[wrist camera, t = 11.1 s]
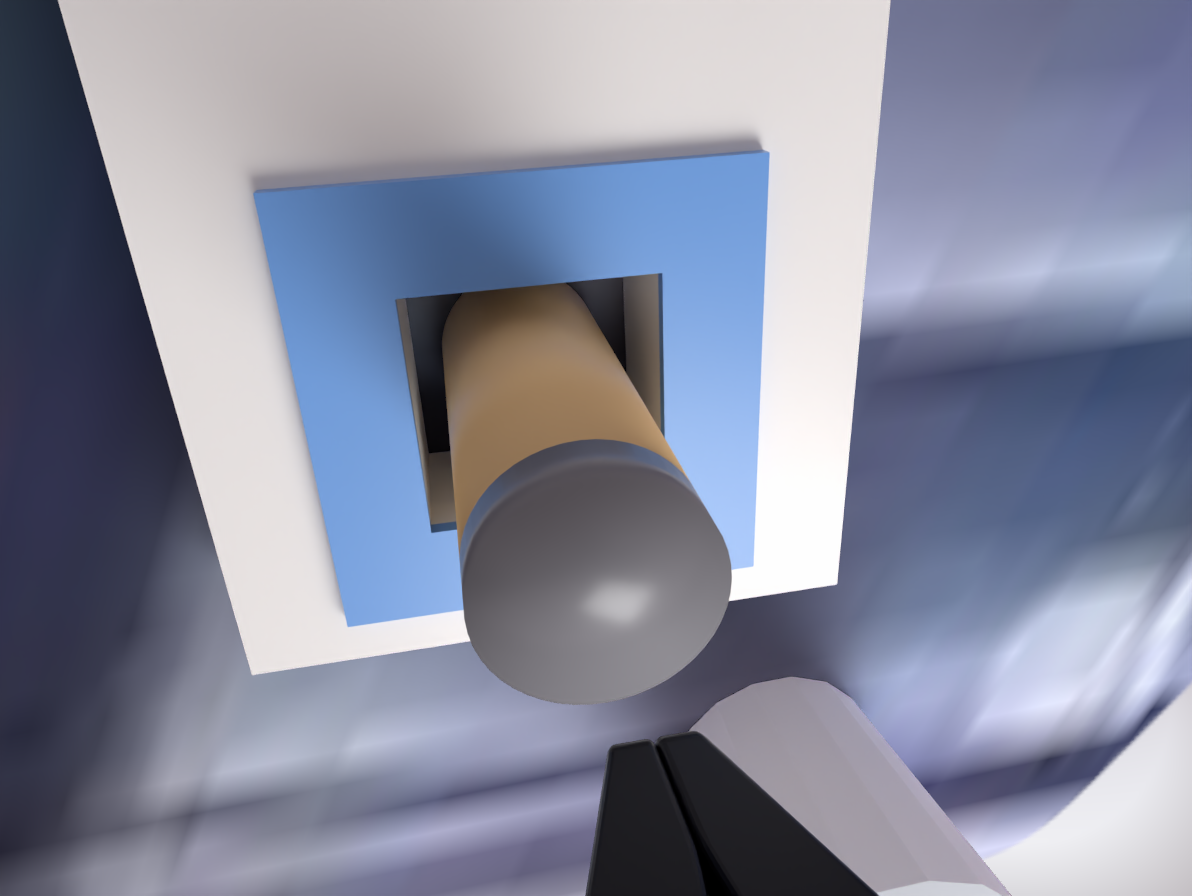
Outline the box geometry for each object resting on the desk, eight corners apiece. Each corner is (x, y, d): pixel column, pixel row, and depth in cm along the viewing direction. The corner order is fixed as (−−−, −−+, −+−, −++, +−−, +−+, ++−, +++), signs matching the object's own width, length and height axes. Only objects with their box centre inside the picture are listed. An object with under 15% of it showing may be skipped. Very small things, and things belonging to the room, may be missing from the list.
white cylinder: (895, 794, 27) (1040, 1027, 21) (682, 870, 26) (764, 1130, 20) (869, 624, 23) (1031, 842, 17) (626, 709, 23) (703, 961, 17)
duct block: (274, 586, 20) (249, 685, 17) (-146, -1040, 10) (-384, -1486, 7) (784, 513, 21) (842, 592, 18) (865, -931, 11) (1020, -1255, 9)
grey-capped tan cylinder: (451, 424, 19) (479, 724, 11) (432, 277, 17) (446, 498, 9) (599, 406, 19) (729, 682, 11) (592, 262, 18) (734, 461, 10)
